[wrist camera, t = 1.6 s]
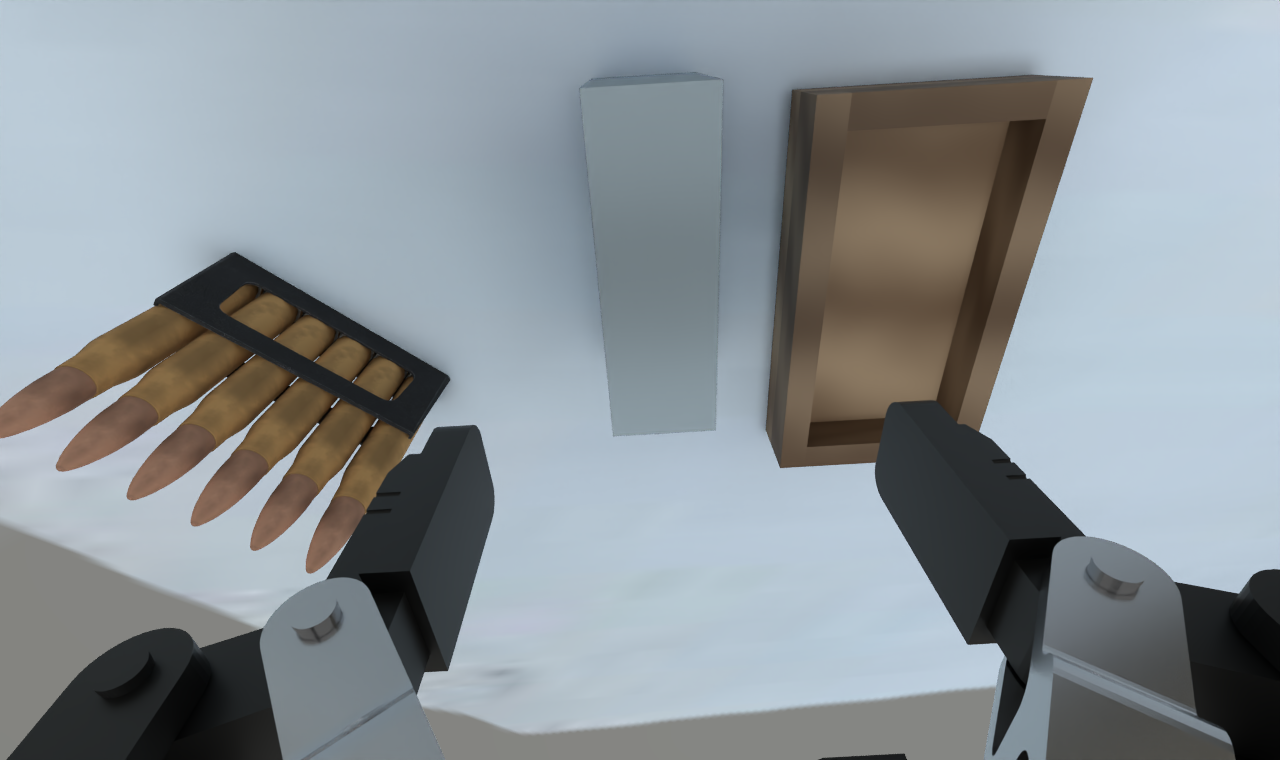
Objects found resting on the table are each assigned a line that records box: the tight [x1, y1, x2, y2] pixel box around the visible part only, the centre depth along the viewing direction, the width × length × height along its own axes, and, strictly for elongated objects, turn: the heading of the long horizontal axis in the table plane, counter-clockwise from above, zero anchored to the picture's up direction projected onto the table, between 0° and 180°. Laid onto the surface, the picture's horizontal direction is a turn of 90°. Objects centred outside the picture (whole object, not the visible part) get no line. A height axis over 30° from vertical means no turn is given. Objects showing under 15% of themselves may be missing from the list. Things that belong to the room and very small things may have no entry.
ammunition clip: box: [0, 252, 450, 573], centre depth 21 cm, size 11×2×12 cm, turn 52°
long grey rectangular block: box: [579, 72, 723, 436], centre depth 21 cm, size 12×4×7 cm, turn 3°
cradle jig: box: [766, 75, 1093, 468], centre depth 24 cm, size 16×9×3 cm, turn 3°
